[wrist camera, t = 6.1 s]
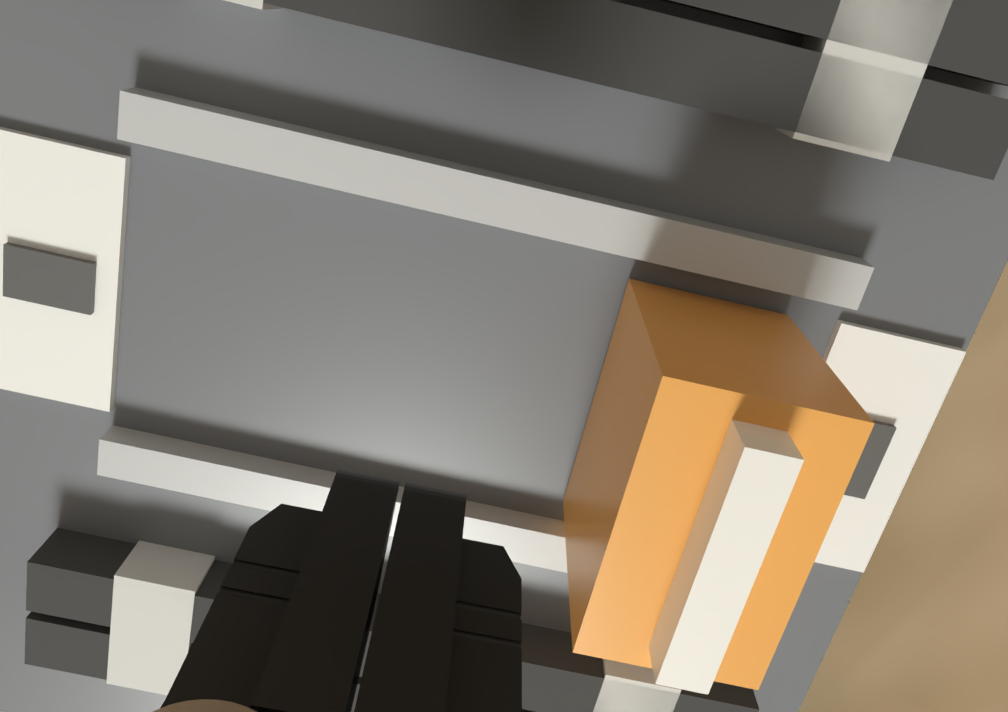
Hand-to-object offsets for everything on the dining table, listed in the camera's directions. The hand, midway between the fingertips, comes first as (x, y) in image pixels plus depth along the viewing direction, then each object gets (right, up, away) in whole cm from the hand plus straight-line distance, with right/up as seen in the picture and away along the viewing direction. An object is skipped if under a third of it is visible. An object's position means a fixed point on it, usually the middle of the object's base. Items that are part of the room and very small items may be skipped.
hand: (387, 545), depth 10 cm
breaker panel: (+1, +3, +9) cm, 9 cm away
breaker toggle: (+5, +1, +7) cm, 8 cm away
